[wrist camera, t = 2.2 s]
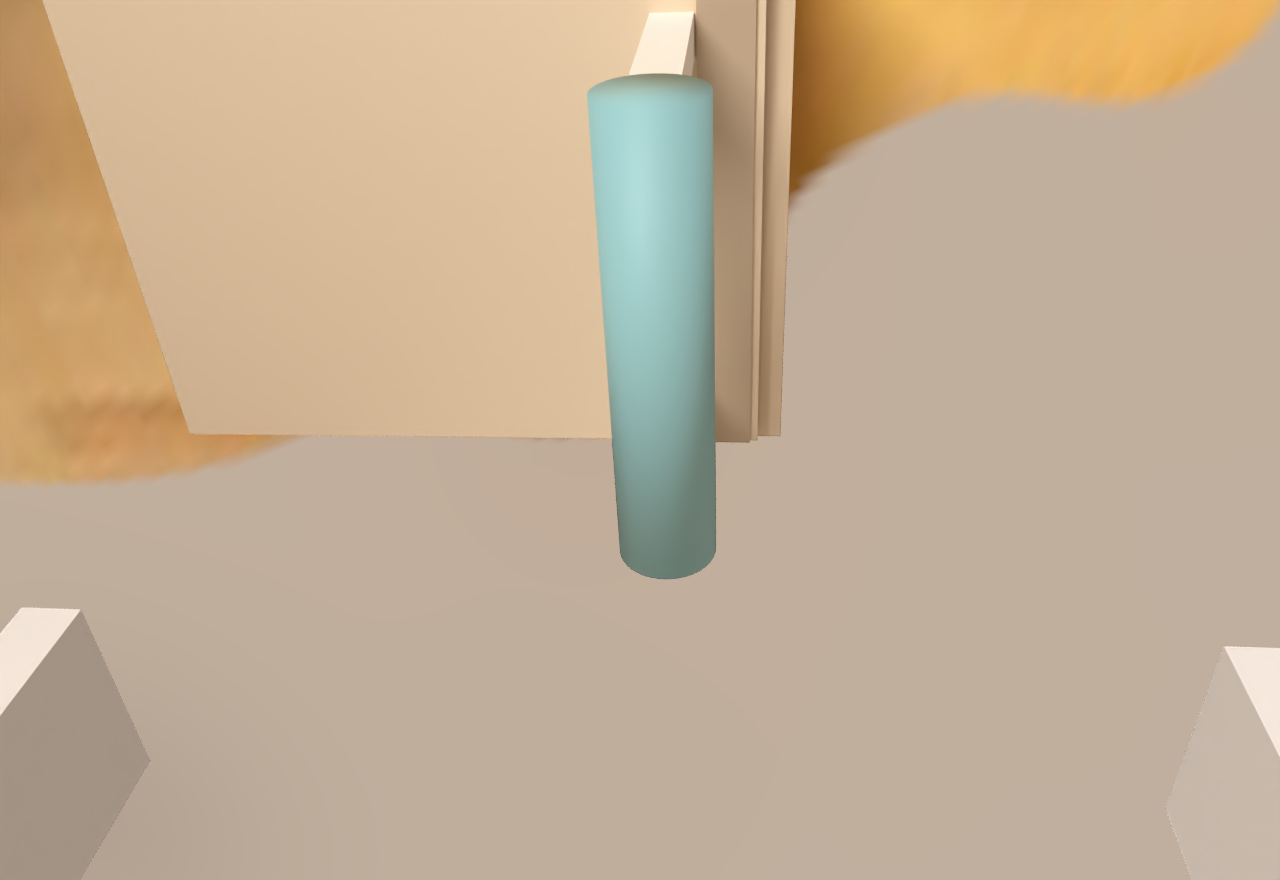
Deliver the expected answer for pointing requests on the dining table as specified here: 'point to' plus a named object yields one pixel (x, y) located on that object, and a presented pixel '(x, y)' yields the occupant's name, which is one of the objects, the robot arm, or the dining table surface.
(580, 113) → the flap
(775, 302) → the carton
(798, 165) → the dining table surface
